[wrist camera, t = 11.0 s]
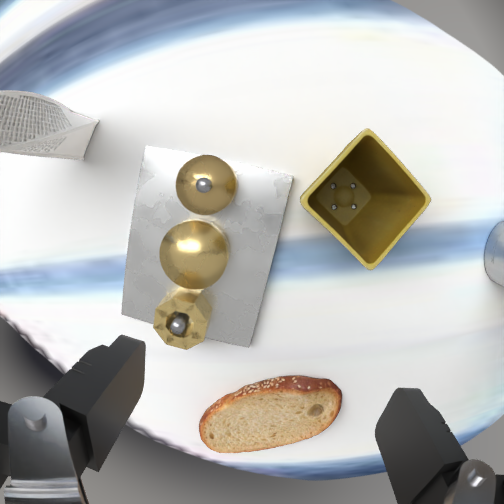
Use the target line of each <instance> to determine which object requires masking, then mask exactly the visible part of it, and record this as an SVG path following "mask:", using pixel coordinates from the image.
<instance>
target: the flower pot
mask: <svg viewBox="0 0 504 504" xmlns="http://www.w3.org/2000/svg"><path fill="white" fill-rule="evenodd" d="M333 183H334V184H335V185H336V187H335V188H334V189H333V188H331V184H333ZM352 183H354V184H355V185H356V187H355V188H351V184H352ZM430 201H431V197H430V196H429V194H428V193H427V192H426V190H425V189H424V188H423V187H422V186H421V185H420V183H419V182H418V181H417V180H416V179H415V177H414V176H413V175H412V174H411V173H410V172H409V170H408V169H407V168H406V167H405V166H404V165H403V164H402V162H401V161H400V160H399V159H398V158H397V157H396V156H395V155H394V153H393V152H392V151H391V150H390V149H389V148H388V147H387V146H386V145H385V144H384V142H383V141H382V140H381V139H380V138H379V137H378V136H377V135H376V134H375V133H374V132H373V131H371V130H370V129H369V128H367V129H364V130H363V131H362V132H361V133H360V134H358V135H357V136H356V137H355V138H354V139H353V140H352V141H351V142H350V143H349V144H348V145H347V146H346V147H345V148H344V150H343V151H342V152H341V153H340V154H339V155H338V156H337V157H336V159H335V160H334V161H333V162H332V163H331V164H330V165H329V166H328V167H327V168H326V169H325V170H324V172H323V173H322V174H321V175H320V176H319V177H318V178H317V179H316V180H315V181H314V182H313V183H312V184H311V185H310V187H309V188H308V189H307V190H306V191H305V192H304V193H303V194H302V195H301V197H300V203H301V205H302V206H303V208H304V209H306V210H307V211H308V212H309V213H310V214H311V215H312V216H313V217H314V218H315V219H316V220H318V221H319V222H320V223H321V224H322V225H323V226H324V227H325V228H326V229H327V230H328V231H329V232H330V233H331V234H332V235H333V236H335V237H336V238H337V239H338V240H339V241H340V242H341V243H342V244H343V245H344V246H345V247H346V248H347V249H348V250H349V251H350V252H351V253H352V254H353V255H354V256H355V257H356V259H357V260H358V261H359V262H360V263H361V264H362V265H363V266H364V267H365V268H366V269H368V270H373V269H374V268H375V267H376V266H377V265H378V264H379V263H380V262H381V261H382V260H383V258H384V257H385V256H386V255H387V254H388V252H389V251H390V250H391V249H392V248H393V246H394V245H395V244H396V243H397V242H398V240H399V239H400V238H401V237H402V236H403V234H404V233H405V232H406V231H407V230H408V229H409V228H410V226H411V225H412V224H413V223H414V222H415V221H416V220H417V219H418V217H419V216H420V215H421V214H422V213H423V211H424V210H425V209H426V208H427V206H428V205H429V203H430ZM352 204H355V205H356V208H355V209H352ZM332 205H336V206H337V208H336V209H335V210H333V209H332Z"/></svg>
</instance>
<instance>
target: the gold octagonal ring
mask: <svg viewBox="0 0 504 504" xmlns="http://www.w3.org/2000/svg"><path fill="white" fill-rule="evenodd" d="M175 311H178V312H182V313H186V314H188V316H189V317H190V318H191V320H192V321H193V323H191V324H188V323H187V325H186V327H185V329H184V331H183V332H182V333H181V334H175V333H173V332H172V331H171V328H170V326H171V324H172V322H173V321H174V319H175V317H176V315H175V314H174V312H175ZM211 313H212V307H211V305H210V304H209V303H208V301H207V300H206V298H205V297H204V295H203V294H202V293H201V291H197V290H191V289H186V288H183V287H179V288H178V289H176V290H174V291H173V292H171V293H170V294H168V295H166V296H165V297H164V298H163V300H162V301H161V302H160V303H159V305H158V306H157V307H156V308H155V316H154V326H153V328H154V329H155V331H156V332H157V333H158V334H159V336H160V337H161V338H162V340H163V341H164V342H165V343H166V344H167V345H170V346H174V347H178V348H182V349H186V350H187V349H189V348H191V347H193V346H195V345H197V344H199V343H201V342H203V341H204V339H205V336H206V333H207V330H208V327H209V323H210V318H211Z"/></svg>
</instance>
